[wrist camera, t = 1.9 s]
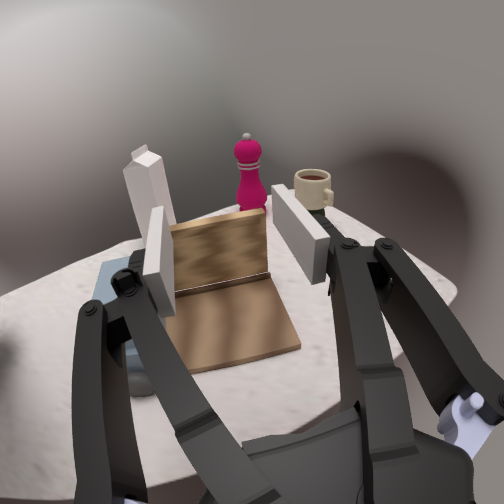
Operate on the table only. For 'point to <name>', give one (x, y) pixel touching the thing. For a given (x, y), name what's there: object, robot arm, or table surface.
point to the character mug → (313, 190)
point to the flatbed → (230, 324)
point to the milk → (147, 188)
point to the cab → (135, 369)
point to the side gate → (219, 248)
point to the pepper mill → (249, 175)
